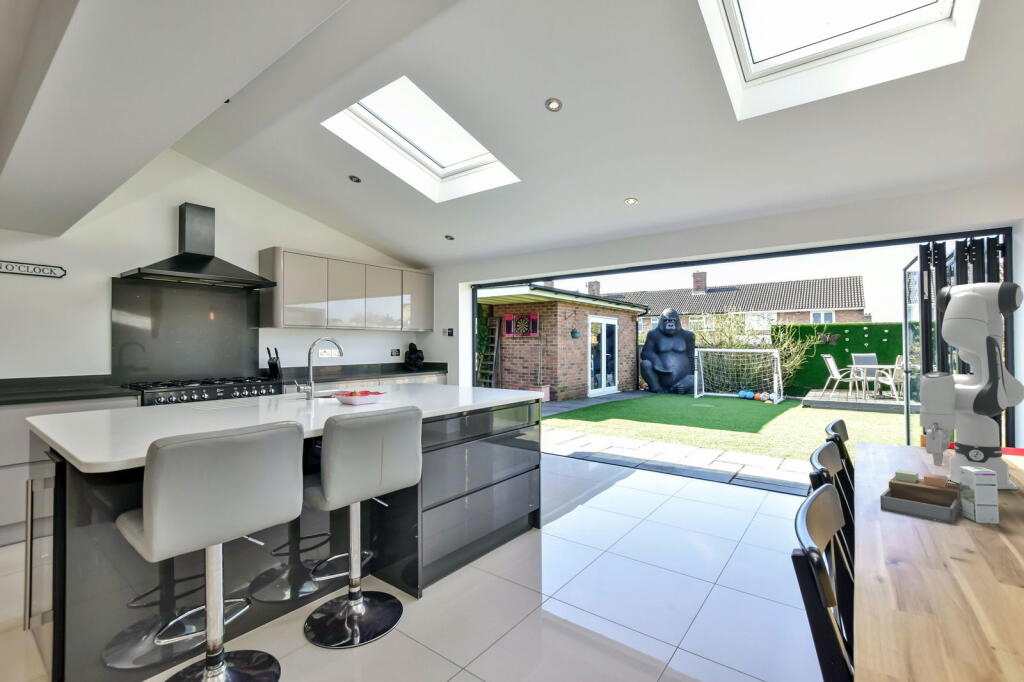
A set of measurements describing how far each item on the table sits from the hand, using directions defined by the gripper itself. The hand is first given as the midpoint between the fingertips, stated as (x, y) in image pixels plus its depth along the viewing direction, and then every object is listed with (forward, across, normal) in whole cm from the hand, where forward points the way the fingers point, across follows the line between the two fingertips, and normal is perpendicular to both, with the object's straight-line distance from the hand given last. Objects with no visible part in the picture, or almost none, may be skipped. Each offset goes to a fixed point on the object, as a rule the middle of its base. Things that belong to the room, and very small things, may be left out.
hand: (938, 465), depth 151 cm
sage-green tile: (+5, -7, +7) cm, 11 cm away
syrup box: (+11, -17, -10) cm, 23 cm away
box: (+11, -20, +2) cm, 23 cm away
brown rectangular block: (+11, -8, +2) cm, 14 cm away
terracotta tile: (+5, -7, 0) cm, 9 cm away
